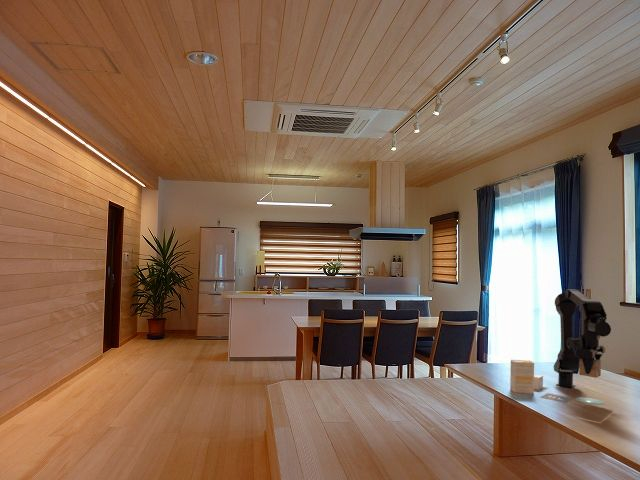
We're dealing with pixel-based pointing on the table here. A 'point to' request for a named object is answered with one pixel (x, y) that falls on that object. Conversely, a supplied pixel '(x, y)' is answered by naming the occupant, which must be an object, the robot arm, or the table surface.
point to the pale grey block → (538, 382)
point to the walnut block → (594, 370)
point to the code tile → (556, 398)
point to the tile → (542, 389)
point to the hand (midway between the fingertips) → (589, 372)
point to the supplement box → (522, 376)
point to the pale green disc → (590, 401)
